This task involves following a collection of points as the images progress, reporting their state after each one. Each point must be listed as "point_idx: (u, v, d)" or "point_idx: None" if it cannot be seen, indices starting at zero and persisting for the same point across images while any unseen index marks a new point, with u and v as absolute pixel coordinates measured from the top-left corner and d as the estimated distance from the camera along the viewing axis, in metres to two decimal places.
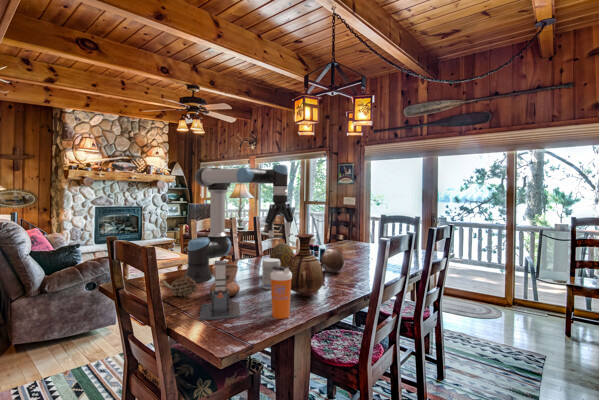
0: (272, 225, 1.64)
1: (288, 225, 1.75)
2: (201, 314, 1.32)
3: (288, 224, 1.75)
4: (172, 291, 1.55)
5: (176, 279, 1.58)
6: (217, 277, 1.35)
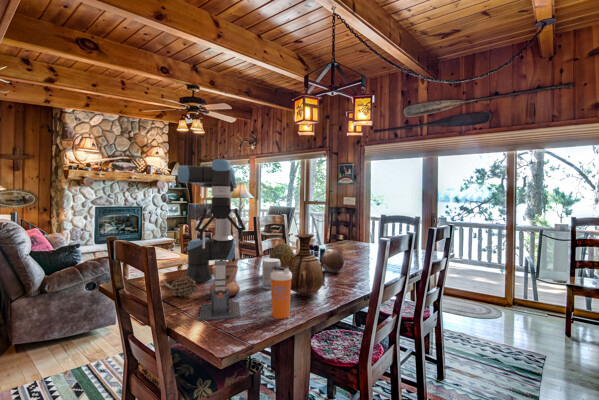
0: (202, 234, 1.34)
1: None
2: (201, 314, 1.32)
3: None
4: (172, 291, 1.55)
5: (176, 279, 1.58)
6: (217, 277, 1.35)
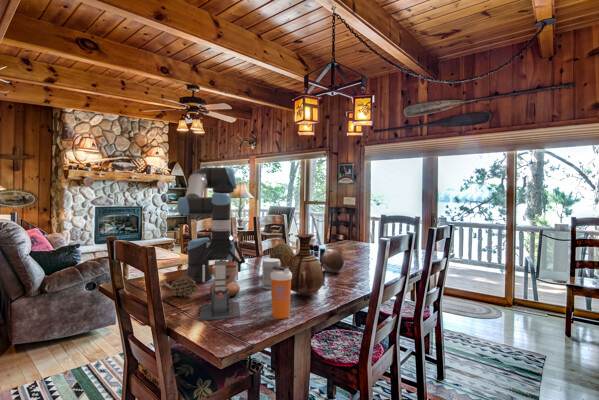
0: (202, 267, 1.35)
1: (236, 268, 1.38)
2: (201, 314, 1.32)
3: (236, 267, 1.38)
4: (172, 291, 1.55)
5: (176, 279, 1.58)
6: (217, 277, 1.35)
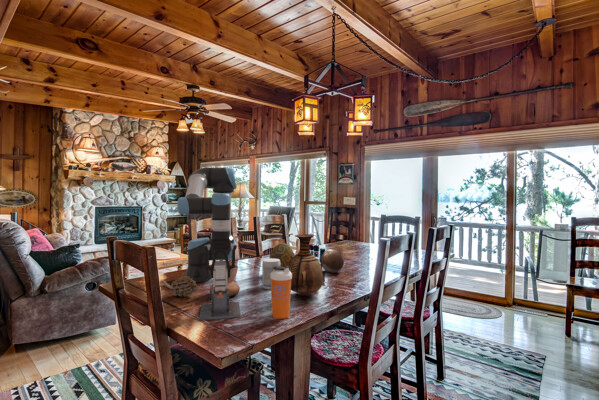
0: (213, 272, 1.36)
1: None
2: (201, 314, 1.32)
3: None
4: (172, 291, 1.55)
5: (176, 279, 1.58)
6: (217, 277, 1.35)
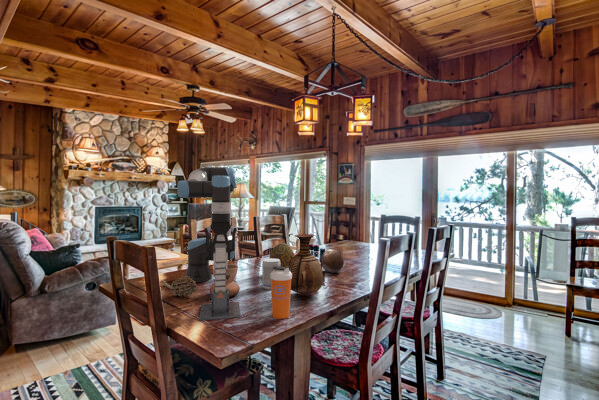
0: (213, 254, 1.36)
1: None
2: (201, 314, 1.32)
3: None
4: (172, 291, 1.55)
5: (176, 279, 1.58)
6: (217, 259, 1.35)
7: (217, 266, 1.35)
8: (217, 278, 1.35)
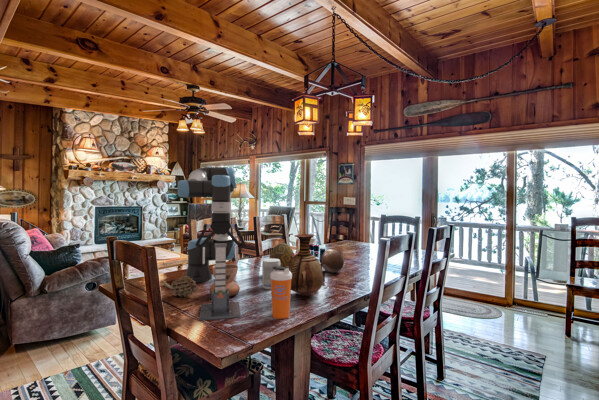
0: (202, 249, 1.35)
1: (236, 251, 1.38)
2: (201, 314, 1.32)
3: (236, 249, 1.38)
4: (172, 291, 1.55)
5: (176, 279, 1.58)
6: (217, 259, 1.35)
7: (217, 266, 1.35)
8: (217, 278, 1.35)
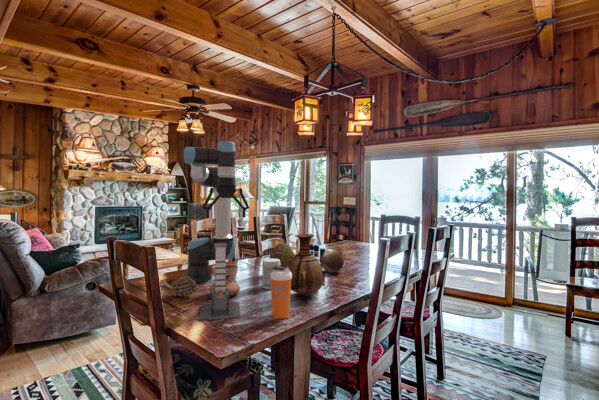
0: (209, 211, 1.42)
1: (241, 214, 1.45)
2: (201, 314, 1.32)
3: (241, 213, 1.45)
4: (172, 291, 1.55)
5: (176, 279, 1.58)
6: (217, 259, 1.35)
7: (217, 266, 1.35)
8: (217, 278, 1.35)
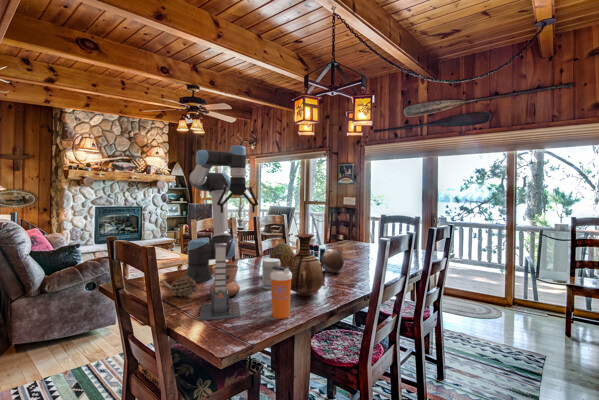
0: (223, 207, 1.61)
1: (250, 209, 1.65)
2: (201, 314, 1.32)
3: (250, 208, 1.65)
4: (172, 291, 1.55)
5: (176, 279, 1.58)
6: (217, 259, 1.35)
7: (217, 266, 1.35)
8: (217, 278, 1.35)
